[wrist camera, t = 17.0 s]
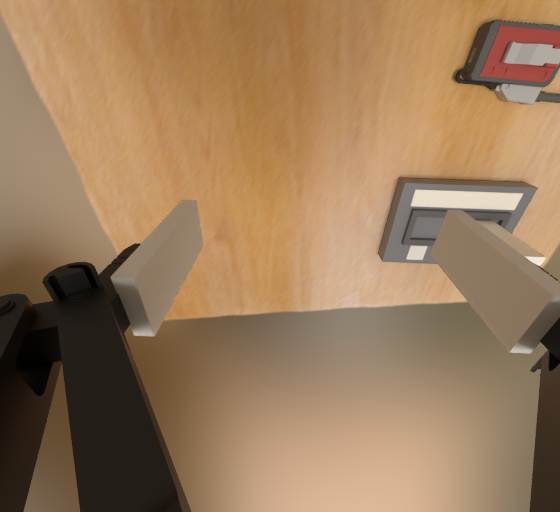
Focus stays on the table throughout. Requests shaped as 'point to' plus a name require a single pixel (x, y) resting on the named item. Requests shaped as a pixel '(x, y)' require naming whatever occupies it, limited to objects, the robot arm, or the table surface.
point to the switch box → (433, 207)
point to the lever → (514, 242)
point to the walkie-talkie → (514, 60)
